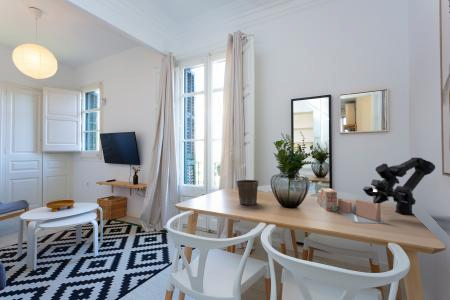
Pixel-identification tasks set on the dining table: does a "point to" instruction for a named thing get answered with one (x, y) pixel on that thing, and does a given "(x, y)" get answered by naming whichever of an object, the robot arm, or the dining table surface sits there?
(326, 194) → the stack of blocks
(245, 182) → the plant pot
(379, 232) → the dining table surface
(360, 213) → the fence panel
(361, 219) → the board
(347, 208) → the fixed fence section
